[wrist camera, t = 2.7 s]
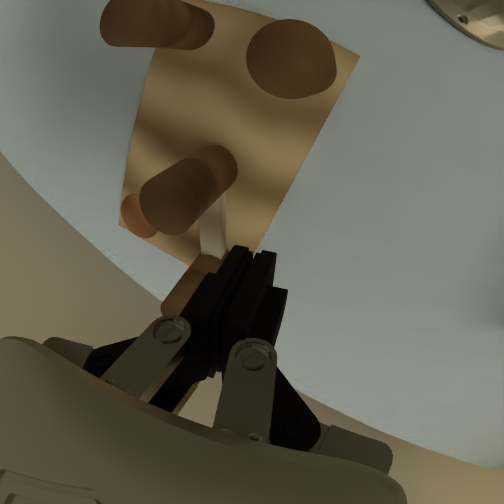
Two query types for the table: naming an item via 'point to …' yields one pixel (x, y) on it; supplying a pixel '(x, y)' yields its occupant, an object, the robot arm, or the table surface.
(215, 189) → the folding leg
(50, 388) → the robot arm
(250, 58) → the stool seat
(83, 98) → the table surface
